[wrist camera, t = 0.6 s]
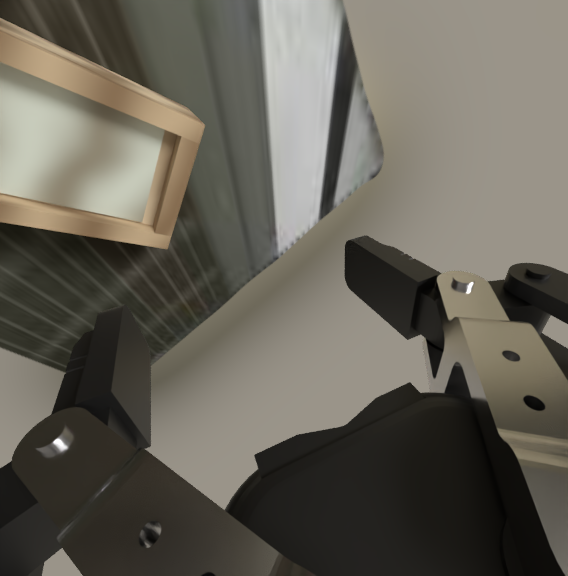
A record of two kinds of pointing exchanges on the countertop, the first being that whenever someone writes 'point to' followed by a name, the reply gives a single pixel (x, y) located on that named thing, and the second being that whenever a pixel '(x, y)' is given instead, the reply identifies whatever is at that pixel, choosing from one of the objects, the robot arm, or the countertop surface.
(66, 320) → the countertop surface
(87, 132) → the light wood open box
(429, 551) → the robot arm
